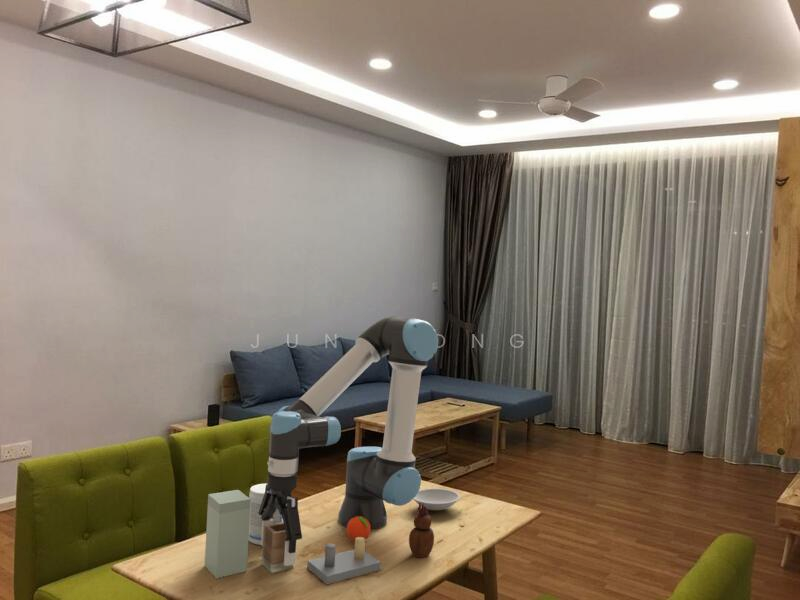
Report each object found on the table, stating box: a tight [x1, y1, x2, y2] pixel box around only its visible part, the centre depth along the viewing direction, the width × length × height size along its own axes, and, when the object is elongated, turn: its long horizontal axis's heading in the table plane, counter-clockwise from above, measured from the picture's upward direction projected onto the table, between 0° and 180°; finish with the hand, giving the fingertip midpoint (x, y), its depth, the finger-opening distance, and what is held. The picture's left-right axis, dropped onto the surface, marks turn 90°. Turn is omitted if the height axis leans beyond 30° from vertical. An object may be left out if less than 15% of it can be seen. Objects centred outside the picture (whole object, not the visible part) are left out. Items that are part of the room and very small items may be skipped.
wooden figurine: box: [408, 503, 435, 558], centre depth 175 cm, size 7×6×15 cm
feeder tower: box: [204, 489, 251, 579], centre depth 161 cm, size 8×8×18 cm
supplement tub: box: [248, 483, 283, 546], centre depth 180 cm, size 10×10×15 cm
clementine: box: [346, 516, 372, 542], centre depth 182 cm, size 8×7×7 cm
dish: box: [412, 487, 461, 511], centre depth 211 cm, size 18×14×5 cm
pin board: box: [307, 537, 382, 585], centre depth 164 cm, size 16×10×7 cm, turn 127°
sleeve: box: [261, 521, 295, 574], centre depth 164 cm, size 6×6×10 cm
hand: (277, 554), depth 164 cm, fingers open, 13 cm apart
